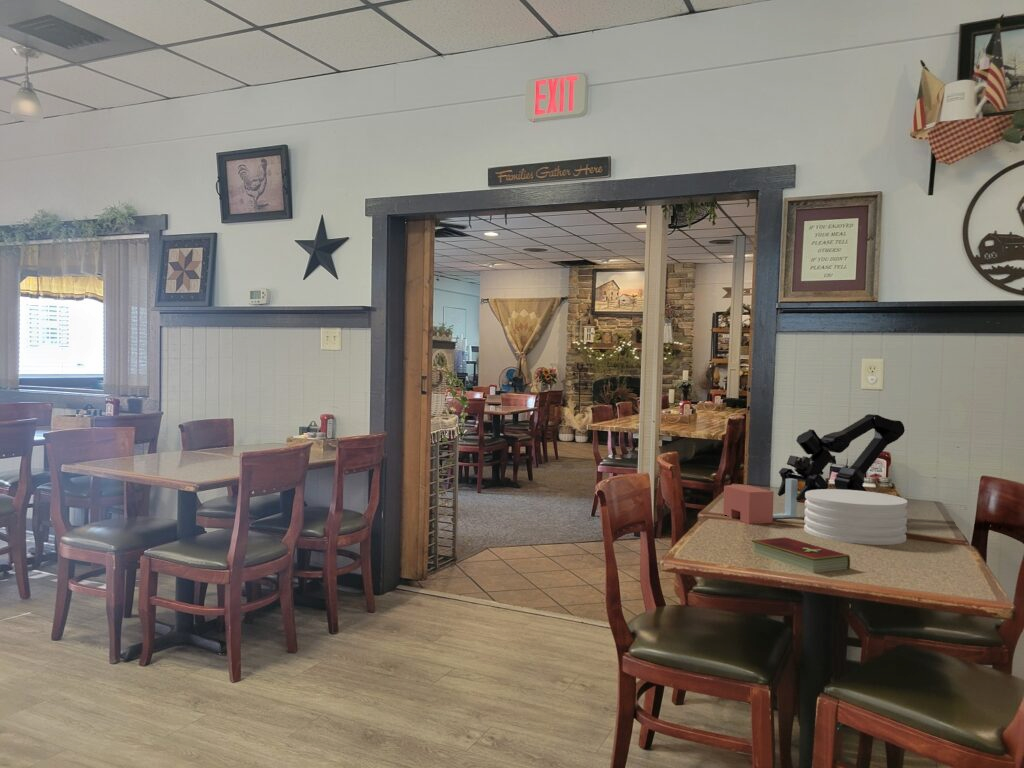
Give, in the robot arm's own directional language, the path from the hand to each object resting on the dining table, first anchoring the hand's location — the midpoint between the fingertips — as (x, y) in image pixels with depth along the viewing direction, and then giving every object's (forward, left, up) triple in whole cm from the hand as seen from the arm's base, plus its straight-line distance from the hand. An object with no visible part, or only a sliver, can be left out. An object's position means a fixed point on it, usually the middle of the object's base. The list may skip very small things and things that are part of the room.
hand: (787, 497), depth 248 cm
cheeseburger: (+29, -26, -7) cm, 39 cm away
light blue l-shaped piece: (0, +4, -6) cm, 8 cm away
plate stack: (-26, -6, -7) cm, 28 cm away
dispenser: (-1, +15, -7) cm, 17 cm away
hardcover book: (-53, +31, -7) cm, 62 cm away
